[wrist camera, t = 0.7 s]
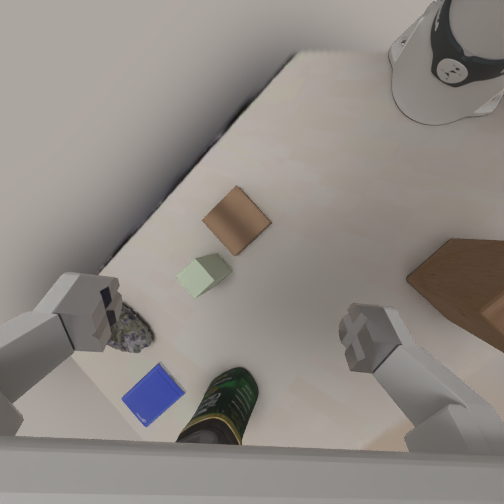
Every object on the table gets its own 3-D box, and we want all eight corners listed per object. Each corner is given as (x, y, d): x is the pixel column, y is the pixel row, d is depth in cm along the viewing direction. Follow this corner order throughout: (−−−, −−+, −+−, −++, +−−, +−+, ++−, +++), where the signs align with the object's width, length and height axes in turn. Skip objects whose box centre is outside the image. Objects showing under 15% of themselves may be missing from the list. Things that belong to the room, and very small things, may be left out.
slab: (240, 188, 51) (236, 185, 48) (272, 222, 50) (270, 222, 47) (207, 220, 52) (201, 220, 49) (238, 254, 52) (234, 256, 49)
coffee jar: (243, 360, 53) (213, 428, 34) (264, 395, 52) (245, 482, 34) (204, 380, 54) (155, 455, 36) (224, 414, 54) (185, 507, 36)
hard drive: (145, 428, 57) (184, 394, 54) (120, 399, 57) (157, 363, 55) (149, 423, 58) (187, 389, 56) (125, 394, 59) (161, 360, 56)
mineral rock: (159, 338, 56) (129, 361, 46) (121, 361, 58) (84, 387, 48) (128, 285, 56) (91, 296, 46) (91, 309, 58) (48, 325, 48)
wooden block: (403, 278, 46) (479, 313, 27) (451, 237, 44) (569, 241, 25) (448, 320, 45) (560, 387, 26) (498, 279, 44) (658, 318, 24)
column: (217, 253, 52) (195, 258, 41) (232, 270, 52) (214, 280, 41) (201, 268, 53) (175, 277, 42) (216, 285, 52) (194, 299, 42)
